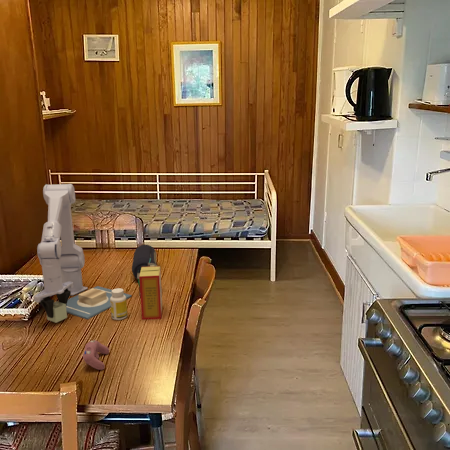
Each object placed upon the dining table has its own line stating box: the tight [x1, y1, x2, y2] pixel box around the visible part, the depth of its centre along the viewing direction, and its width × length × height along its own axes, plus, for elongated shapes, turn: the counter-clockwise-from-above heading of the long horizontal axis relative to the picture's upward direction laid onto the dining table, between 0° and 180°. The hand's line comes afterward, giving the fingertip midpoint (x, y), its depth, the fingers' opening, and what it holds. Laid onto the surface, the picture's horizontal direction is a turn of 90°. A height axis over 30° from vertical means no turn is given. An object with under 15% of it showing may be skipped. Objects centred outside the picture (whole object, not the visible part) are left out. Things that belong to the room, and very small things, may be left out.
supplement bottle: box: [110, 287, 128, 321], centre depth 161 cm, size 5×5×10 cm
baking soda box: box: [139, 265, 163, 321], centre depth 162 cm, size 10×6×16 cm
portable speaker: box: [131, 244, 157, 280], centre depth 202 cm, size 25×10×10 cm, turn 8°
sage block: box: [46, 300, 68, 324], centre depth 158 cm, size 4×4×6 cm
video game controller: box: [82, 339, 110, 371], centre depth 134 cm, size 10×5×7 cm, turn 5°
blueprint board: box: [66, 285, 132, 320], centre depth 173 cm, size 18×22×4 cm
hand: (56, 314), depth 159 cm, fingers closed on sage block, 4 cm apart
